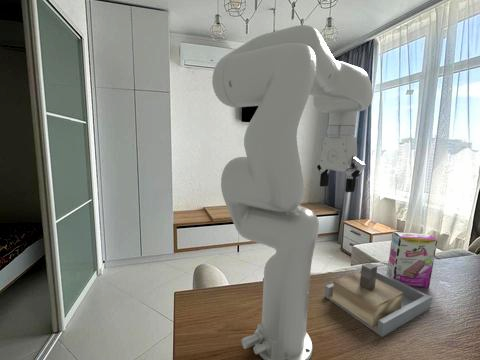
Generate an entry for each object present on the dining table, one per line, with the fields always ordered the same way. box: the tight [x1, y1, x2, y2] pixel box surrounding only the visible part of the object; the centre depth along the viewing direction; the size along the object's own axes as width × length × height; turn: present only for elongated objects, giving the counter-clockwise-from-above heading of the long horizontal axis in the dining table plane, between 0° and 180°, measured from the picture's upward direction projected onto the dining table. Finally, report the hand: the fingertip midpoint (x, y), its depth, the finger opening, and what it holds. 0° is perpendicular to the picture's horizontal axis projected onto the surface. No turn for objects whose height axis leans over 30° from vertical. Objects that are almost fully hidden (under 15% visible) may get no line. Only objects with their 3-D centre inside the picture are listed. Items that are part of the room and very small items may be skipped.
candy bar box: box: [386, 231, 438, 289], centre depth 80 cm, size 11×5×16 cm, turn 84°
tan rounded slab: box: [332, 262, 403, 327], centre depth 67 cm, size 12×12×12 cm
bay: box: [324, 270, 433, 338], centre depth 71 cm, size 22×17×4 cm
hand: (336, 188), depth 77 cm, fingers open, 9 cm apart
